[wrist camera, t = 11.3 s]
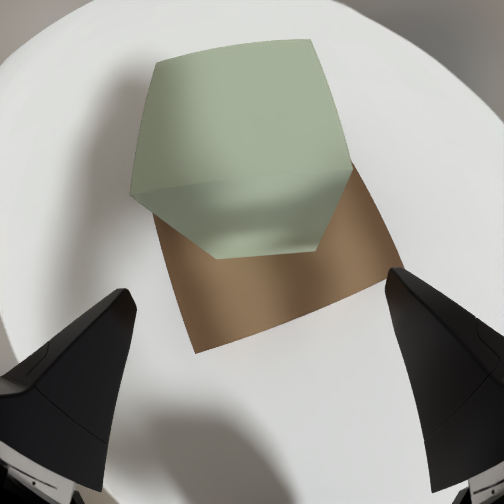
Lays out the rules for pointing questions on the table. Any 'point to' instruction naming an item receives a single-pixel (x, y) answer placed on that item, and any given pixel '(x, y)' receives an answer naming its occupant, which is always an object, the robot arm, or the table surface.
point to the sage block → (242, 149)
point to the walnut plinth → (278, 274)
